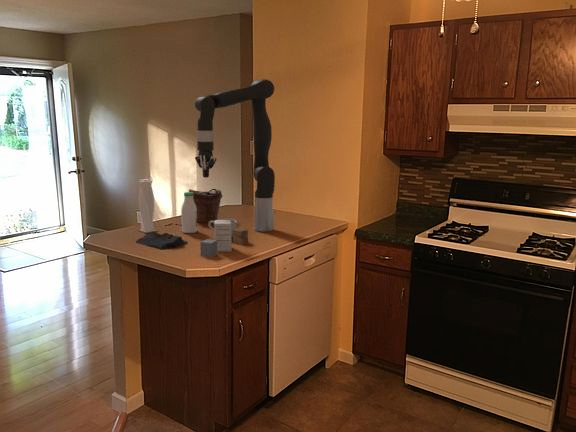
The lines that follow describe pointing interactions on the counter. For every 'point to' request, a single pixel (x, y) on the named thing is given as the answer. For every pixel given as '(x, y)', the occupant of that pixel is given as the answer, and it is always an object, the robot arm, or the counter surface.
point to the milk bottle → (189, 214)
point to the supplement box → (223, 235)
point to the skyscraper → (146, 205)
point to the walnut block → (240, 236)
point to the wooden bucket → (207, 204)
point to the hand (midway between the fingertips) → (205, 177)
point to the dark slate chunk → (161, 241)
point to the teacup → (233, 225)
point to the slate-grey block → (208, 248)
